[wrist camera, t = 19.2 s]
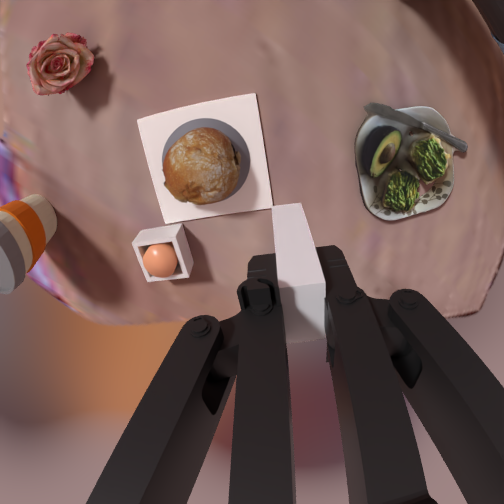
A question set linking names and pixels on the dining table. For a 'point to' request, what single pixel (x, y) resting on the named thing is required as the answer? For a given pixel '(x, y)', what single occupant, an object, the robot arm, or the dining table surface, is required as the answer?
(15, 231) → the reusable coffee cup
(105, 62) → the dining table surface
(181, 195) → the bread roll
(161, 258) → the button
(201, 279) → the dining table surface
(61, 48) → the flower
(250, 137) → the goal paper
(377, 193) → the salad plate
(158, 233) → the button housing
